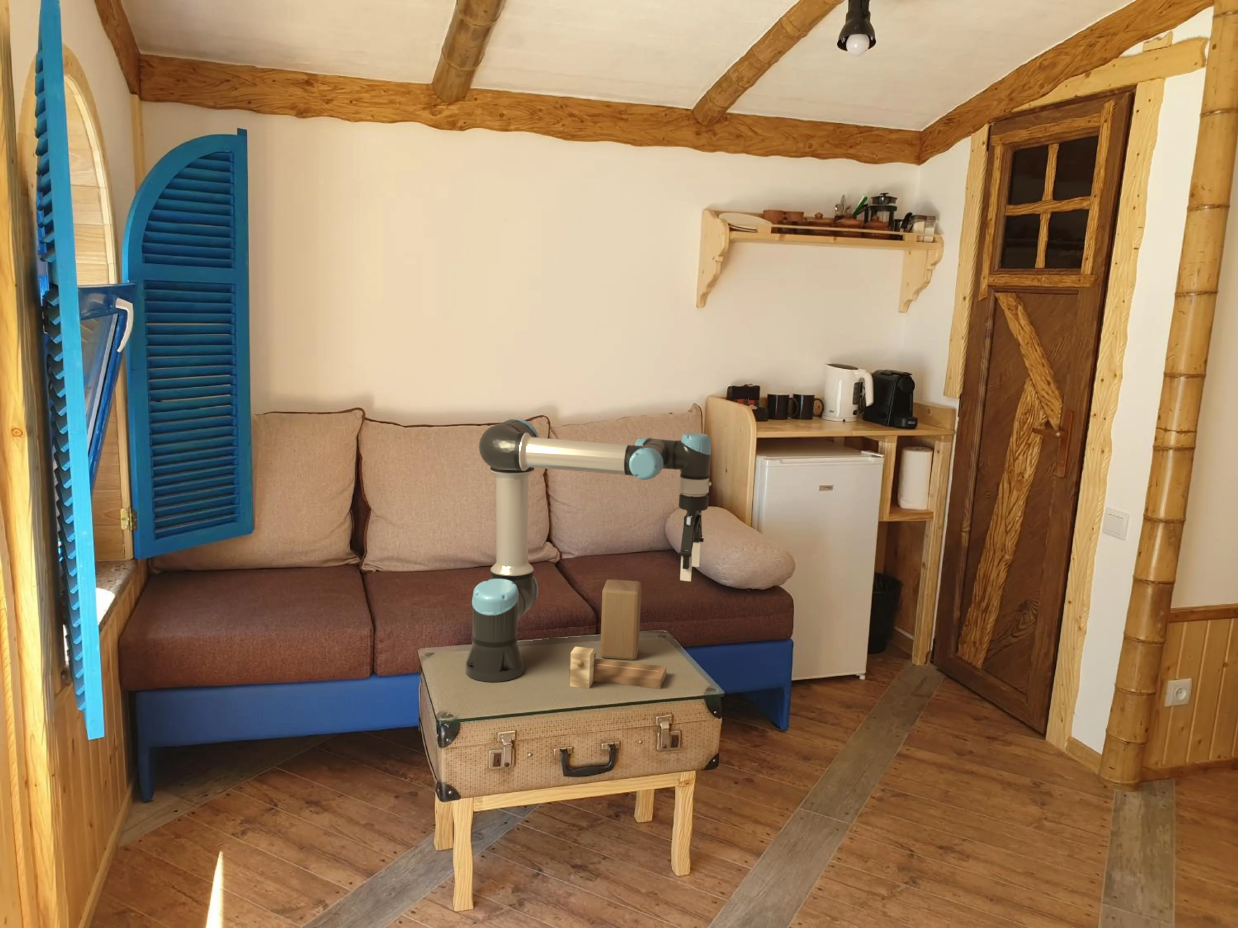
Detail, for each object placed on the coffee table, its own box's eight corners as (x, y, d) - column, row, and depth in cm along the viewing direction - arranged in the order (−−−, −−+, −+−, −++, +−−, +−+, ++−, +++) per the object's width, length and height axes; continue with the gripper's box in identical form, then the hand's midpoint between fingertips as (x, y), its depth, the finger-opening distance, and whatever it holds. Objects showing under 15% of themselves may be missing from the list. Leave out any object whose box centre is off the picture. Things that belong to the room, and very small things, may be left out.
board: (569, 678, 255) (569, 668, 255) (577, 665, 264) (578, 656, 264) (660, 688, 251) (660, 679, 250) (666, 675, 259) (666, 666, 259)
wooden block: (639, 648, 278) (641, 580, 275) (636, 661, 268) (638, 591, 265) (603, 645, 279) (606, 578, 276) (599, 658, 269) (602, 588, 266)
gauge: (569, 686, 250) (570, 653, 248) (582, 666, 263) (583, 634, 261) (588, 688, 249) (589, 655, 247) (600, 668, 262) (601, 636, 260)
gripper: (700, 504, 240) (696, 588, 244) (715, 485, 264) (711, 562, 267) (670, 502, 241) (666, 585, 245) (687, 483, 265) (684, 559, 269)
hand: (690, 573), depth 256 cm, fingers open, 13 cm apart
